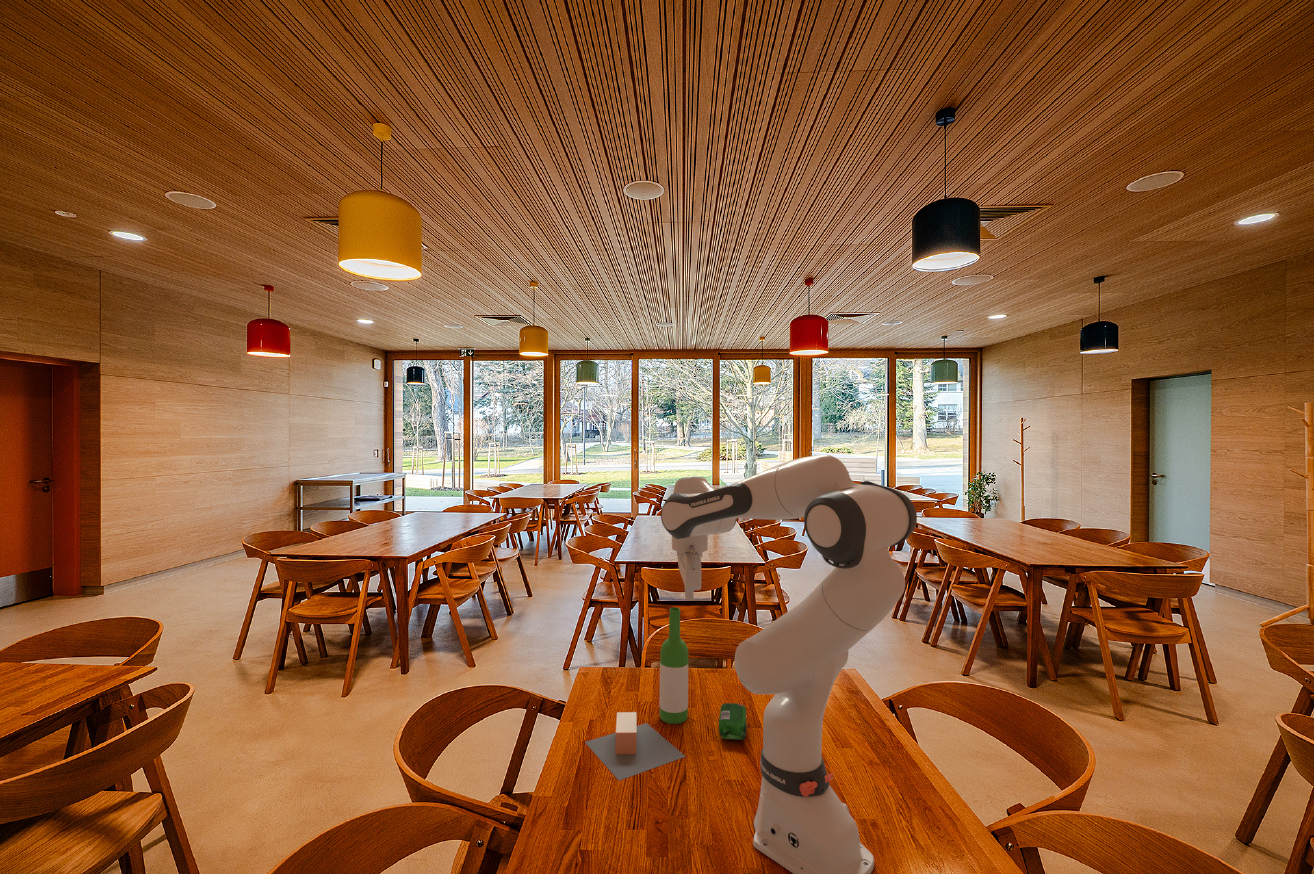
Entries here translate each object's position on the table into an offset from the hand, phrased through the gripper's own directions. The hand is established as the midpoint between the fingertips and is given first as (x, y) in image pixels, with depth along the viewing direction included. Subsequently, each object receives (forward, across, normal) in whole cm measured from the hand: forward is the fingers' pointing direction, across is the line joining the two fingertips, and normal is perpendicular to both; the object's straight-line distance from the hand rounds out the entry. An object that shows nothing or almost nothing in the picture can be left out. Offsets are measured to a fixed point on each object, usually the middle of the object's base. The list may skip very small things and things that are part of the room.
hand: (689, 599), depth 131 cm
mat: (+37, 0, +13) cm, 39 cm away
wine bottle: (+37, +16, +2) cm, 41 cm away
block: (+34, -2, +15) cm, 37 cm away
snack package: (+38, +10, -13) cm, 41 cm away
